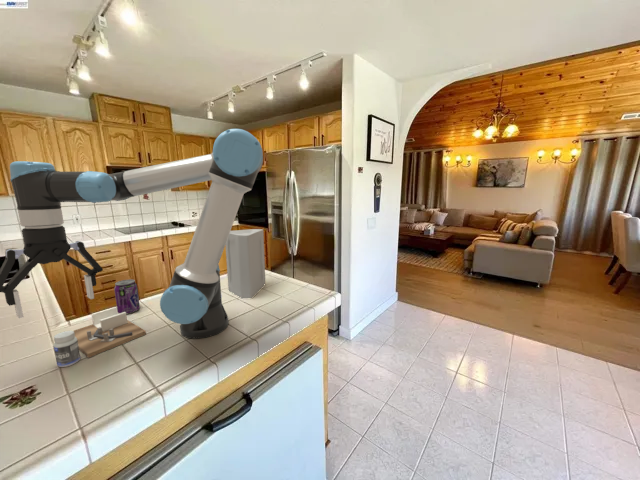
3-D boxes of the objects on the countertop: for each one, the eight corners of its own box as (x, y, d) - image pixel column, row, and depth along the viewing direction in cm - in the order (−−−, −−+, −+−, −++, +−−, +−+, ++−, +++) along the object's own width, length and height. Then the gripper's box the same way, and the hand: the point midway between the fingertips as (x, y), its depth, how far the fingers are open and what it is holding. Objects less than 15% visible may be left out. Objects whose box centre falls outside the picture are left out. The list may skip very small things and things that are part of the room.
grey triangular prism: (238, 282, 136) (235, 228, 131) (266, 284, 134) (263, 229, 129) (219, 297, 117) (214, 234, 112) (251, 299, 115) (248, 235, 110)
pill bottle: (52, 368, 70) (46, 339, 69) (67, 357, 75) (62, 329, 73) (71, 367, 70) (65, 338, 69) (85, 356, 75) (80, 329, 74)
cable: (133, 334, 84) (133, 331, 84) (122, 341, 80) (122, 338, 80) (98, 330, 87) (98, 328, 86) (86, 337, 83) (85, 335, 82)
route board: (146, 334, 87) (144, 323, 86) (88, 357, 74) (86, 345, 74) (120, 318, 98) (118, 308, 97) (65, 336, 85) (63, 325, 84)
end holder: (127, 323, 91) (126, 312, 91) (102, 332, 86) (101, 320, 85) (117, 316, 96) (115, 306, 95) (93, 324, 90) (91, 314, 90)
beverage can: (128, 316, 99) (124, 285, 97) (113, 314, 101) (108, 284, 98) (144, 308, 106) (140, 279, 104) (129, 306, 107) (125, 278, 105)
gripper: (99, 220, 78) (109, 289, 82) (-42, 231, 58) (-20, 321, 61) (109, 222, 74) (119, 294, 78) (-39, 234, 54) (-15, 330, 57)
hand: (58, 306), depth 70 cm, fingers open, 13 cm apart
